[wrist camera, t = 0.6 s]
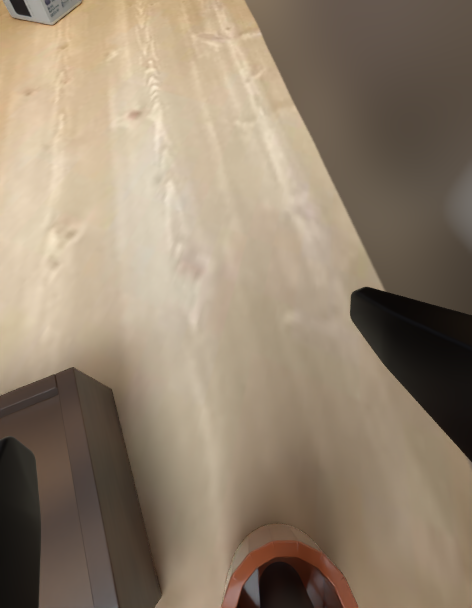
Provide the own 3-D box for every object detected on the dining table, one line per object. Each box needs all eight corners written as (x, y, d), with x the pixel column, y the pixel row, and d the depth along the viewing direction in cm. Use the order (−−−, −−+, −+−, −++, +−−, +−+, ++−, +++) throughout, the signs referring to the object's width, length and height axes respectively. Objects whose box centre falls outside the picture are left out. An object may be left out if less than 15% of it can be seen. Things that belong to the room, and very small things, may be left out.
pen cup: (354, 624, 16) (392, 682, 12) (254, 683, 16) (256, 768, 11) (301, 505, 19) (317, 517, 14) (212, 551, 18) (200, 578, 14)
